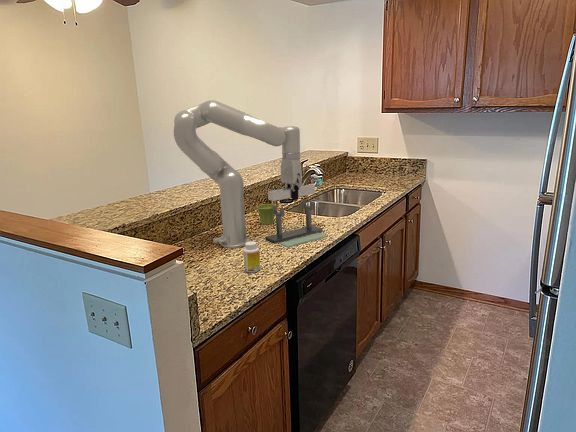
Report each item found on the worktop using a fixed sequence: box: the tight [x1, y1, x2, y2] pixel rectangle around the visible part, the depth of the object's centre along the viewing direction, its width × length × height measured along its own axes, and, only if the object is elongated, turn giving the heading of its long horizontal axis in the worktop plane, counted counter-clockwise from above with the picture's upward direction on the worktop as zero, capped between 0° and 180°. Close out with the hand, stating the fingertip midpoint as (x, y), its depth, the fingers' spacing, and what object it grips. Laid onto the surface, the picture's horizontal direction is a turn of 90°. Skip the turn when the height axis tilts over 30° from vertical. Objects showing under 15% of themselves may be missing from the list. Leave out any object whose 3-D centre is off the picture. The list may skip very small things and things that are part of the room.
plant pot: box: [256, 203, 276, 226], centre depth 216 cm, size 9×9×9 cm
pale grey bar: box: [267, 184, 316, 202], centre depth 190 cm, size 22×4×4 cm, turn 125°
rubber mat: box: [279, 232, 328, 248], centre depth 188 cm, size 21×6×1 cm, turn 125°
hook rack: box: [264, 199, 323, 245], centre depth 194 cm, size 26×7×14 cm, turn 125°
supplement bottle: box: [242, 240, 261, 274], centre depth 157 cm, size 6×6×10 cm
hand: (292, 198), depth 191 cm, fingers closed on pale grey bar, 3 cm apart
